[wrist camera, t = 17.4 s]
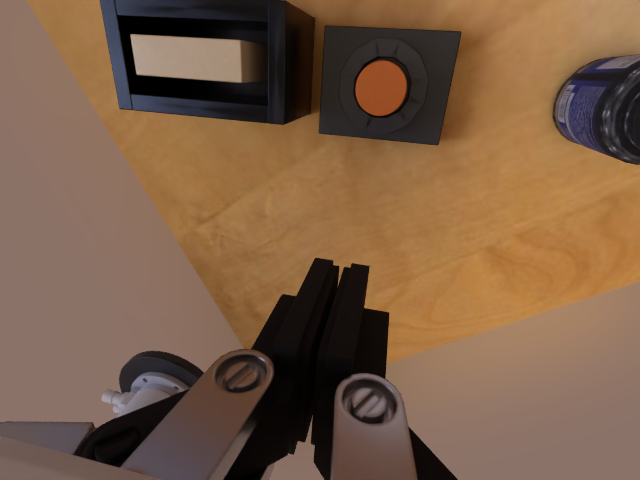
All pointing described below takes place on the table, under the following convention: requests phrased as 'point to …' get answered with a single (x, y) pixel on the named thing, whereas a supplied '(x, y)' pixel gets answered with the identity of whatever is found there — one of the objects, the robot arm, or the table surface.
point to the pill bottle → (603, 107)
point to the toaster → (217, 23)
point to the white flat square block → (200, 58)
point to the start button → (381, 88)
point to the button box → (414, 60)
